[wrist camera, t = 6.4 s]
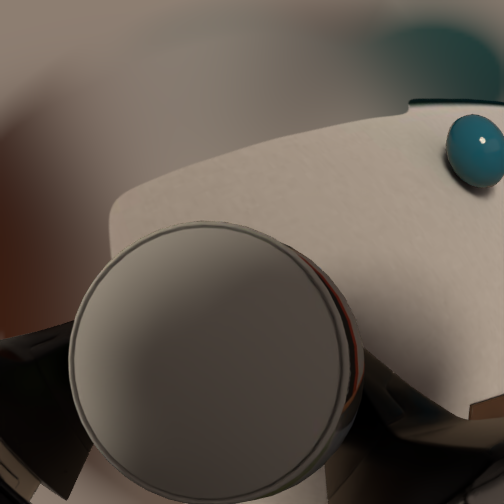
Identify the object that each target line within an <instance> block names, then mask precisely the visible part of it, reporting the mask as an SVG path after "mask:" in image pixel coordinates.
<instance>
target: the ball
mask: <svg viewBox="0 0 504 504" xmlns="http://www.w3.org/2000/svg"><path fill="white" fill-rule="evenodd" d="M446 153H447V157H448V160H449V163H450V165H451V167H452V169H453V170H454V172H455V173H456V174H457V175H458V177H459V178H460V179H461V180H463V181H464V182H465V183H467V184H469V185H471V186H474V187H477V188H487V187H492V186H494V185H495V184H497V183H498V182H499V181H500V180H501V179H502V177H503V176H504V135H503V134H502V132H501V130H500V129H499V128H498V127H497V126H496V125H495V124H494V123H493V122H492V121H490V120H489V119H487V118H485V117H483V116H480V115H473V114H471V115H466V116H463V117H461V118H459V119H457V120H456V121H455V122H454V123H453V124H452V125H451V127H450V129H449V132H448V135H447V140H446Z"/></svg>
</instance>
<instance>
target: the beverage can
mask: <svg viewBox="0 0 504 504" xmlns="http://www.w3.org/2000/svg"><path fill="white" fill-rule="evenodd" d="M68 363H69V380H70V386H71V391H72V395H73V400H74V403H75V406H76V409H77V412H78V414H79V417H80V419H81V422H82V424H83V426H84V428H85V429H86V431H87V433H88V435H89V437H90V438H91V440H92V442H93V443H94V444H95V446H96V447H97V448H98V450H99V451H100V452H101V453H102V455H103V456H104V457H105V458H106V459H107V460H108V462H110V463H111V464H112V465H113V466H114V467H115V468H116V469H117V470H118V471H119V472H121V473H122V474H123V475H124V476H125V477H127V478H128V479H130V480H131V481H133V482H134V483H136V484H137V485H139V486H141V487H142V488H144V489H146V490H148V491H150V492H152V493H155V494H157V495H160V496H162V497H165V498H167V499H170V500H174V501H178V502H183V503H188V504H235V503H241V502H246V501H251V500H256V499H261V498H265V497H269V496H273V495H275V494H277V493H280V492H282V491H284V490H287V489H289V488H291V487H293V486H295V485H297V484H299V483H300V482H302V481H303V480H305V479H306V478H307V477H309V476H310V475H312V474H313V473H314V472H316V471H317V470H318V469H320V468H321V467H322V466H323V465H324V464H325V462H326V461H327V460H328V459H329V458H330V457H331V456H332V455H333V454H334V453H335V452H336V451H337V449H338V448H339V447H340V445H341V443H342V442H343V440H344V439H345V437H346V435H347V434H348V432H349V430H350V429H351V427H352V425H353V422H354V419H355V417H356V414H357V411H358V408H359V405H360V402H361V399H362V392H363V385H364V377H365V365H364V351H363V344H362V340H361V336H360V333H359V329H358V325H357V322H356V319H355V317H354V315H353V313H352V311H351V309H350V307H349V305H348V303H347V301H346V299H345V297H344V296H343V295H342V293H341V292H340V290H339V289H338V288H337V286H336V285H335V284H334V283H333V281H332V280H331V279H330V277H329V276H328V275H327V274H326V273H325V272H324V271H322V270H321V269H320V268H319V267H318V266H317V265H316V264H315V263H314V262H313V261H312V260H310V259H309V258H307V257H306V256H304V255H303V254H301V253H299V252H298V251H296V250H295V249H293V248H292V247H290V246H288V245H286V244H283V243H281V242H279V241H277V240H276V239H274V238H273V237H271V236H269V235H266V234H264V233H261V232H259V231H257V230H254V229H252V228H249V227H246V226H241V225H237V224H232V223H228V222H215V221H197V222H188V223H180V224H177V225H173V226H170V227H166V228H163V229H159V230H157V231H155V232H153V233H151V234H148V235H146V236H144V237H142V238H140V239H138V240H137V241H135V242H134V243H132V244H131V245H129V246H128V247H126V248H125V249H123V250H122V251H121V252H120V253H119V254H118V255H117V256H115V257H114V258H113V259H112V260H111V261H110V262H109V263H108V264H107V265H106V266H105V267H104V269H103V270H102V271H101V272H100V273H99V275H98V276H97V277H96V278H95V280H94V281H93V283H92V284H91V286H90V288H89V289H88V291H87V293H86V295H85V296H84V298H83V300H82V303H81V305H80V307H79V310H78V312H77V315H76V317H75V321H74V325H73V329H72V333H71V337H70V346H69V356H68Z"/></svg>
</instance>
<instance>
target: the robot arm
mask: <svg viewBox="0 0 504 504" xmlns="http://www.w3.org/2000/svg"><path fill="white" fill-rule="evenodd" d="M74 321H75V320H74ZM74 321H70V322H67V323H64V324H61V325H57V326H54V327H51V328H47V329H44V330H41V331H37V332H33V333H29V334H25V335H20V336H16V337H12V338H7V339H3V340H0V504H32V503H31V502H30V500H31V498H32V497H33V495H34V493H35V492H36V490H37V489H38V487H39V485H40V484H42V485H43V486H45V487H47V488H48V489H49V490H51V491H52V492H54V493H55V494H57V495H58V496H60V497H61V498H63V499H65V500H67V499H68V498H69V496H70V493H71V491H72V489H73V487H74V484H75V482H76V480H77V478H78V476H79V474H80V472H81V469H82V467H83V465H84V463H85V461H86V459H87V457H88V455H89V452H90V450H91V448H92V446H93V444H94V443H93V442H92V440H91V438H90V437H89V435H88V433H87V431H86V429H85V428H84V426H83V424H82V422H81V419H80V417H79V414H78V412H77V409H76V406H75V403H74V400H73V395H72V391H71V386H70V380H69V363H68V356H69V346H70V337H71V333H72V329H73V325H74ZM363 351H364V365H365V377H364V385H363V392H362V399H361V402H360V405H359V408H358V411H357V414H356V417H355V419H354V422H353V425H352V427H351V429H350V430H349V432H348V434H347V435H346V437H345V439H344V440H343V442H342V443H341V445H340V447H339V448H338V449H337V451H336V452H335V453H334V454H333V455H332V456H331V457H330V458H329V459H328V460H327V461H326V462H325V475H326V486H327V499H328V504H504V417H500V418H492V419H482V420H467V419H463V418H460V417H457V416H455V415H454V414H452V413H450V412H449V411H447V410H446V409H444V408H443V407H441V406H440V405H438V404H437V403H435V402H434V401H432V400H431V399H429V398H427V397H426V396H424V395H423V394H422V393H420V392H419V391H417V390H416V389H414V388H413V387H412V386H410V385H409V384H408V383H406V382H405V381H404V380H403V379H401V378H400V377H399V376H398V375H396V374H395V373H393V371H392V370H390V369H389V368H388V367H387V366H385V365H384V364H383V363H382V362H381V361H379V360H378V359H377V358H376V357H374V356H373V355H372V354H371V353H370V352H368V351H367V350H366V349H365V348H364V347H363Z"/></svg>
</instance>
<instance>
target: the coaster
mask: <svg viewBox="0 0 504 504" xmlns="http://www.w3.org/2000/svg"><path fill="white" fill-rule="evenodd" d="M500 417H504V395H501V396H499V397H496V398H493V399H490V400H486V401H483V402H480V403H477V404H473V405H470V412H469V420H482V419H492V418H500Z"/></svg>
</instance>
